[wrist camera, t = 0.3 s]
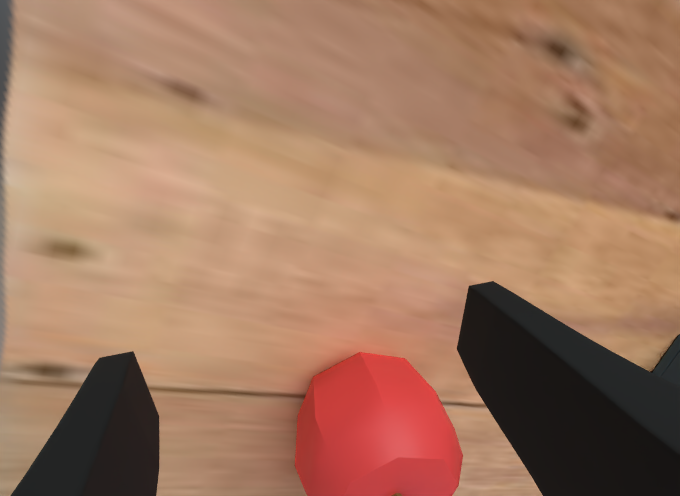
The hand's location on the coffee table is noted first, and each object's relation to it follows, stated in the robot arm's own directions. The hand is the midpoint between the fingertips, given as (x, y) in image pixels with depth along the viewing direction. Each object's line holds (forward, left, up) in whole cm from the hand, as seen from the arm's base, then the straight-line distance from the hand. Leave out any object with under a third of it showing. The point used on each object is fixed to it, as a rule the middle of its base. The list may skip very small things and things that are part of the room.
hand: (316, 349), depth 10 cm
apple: (-8, -9, -10) cm, 16 cm away
